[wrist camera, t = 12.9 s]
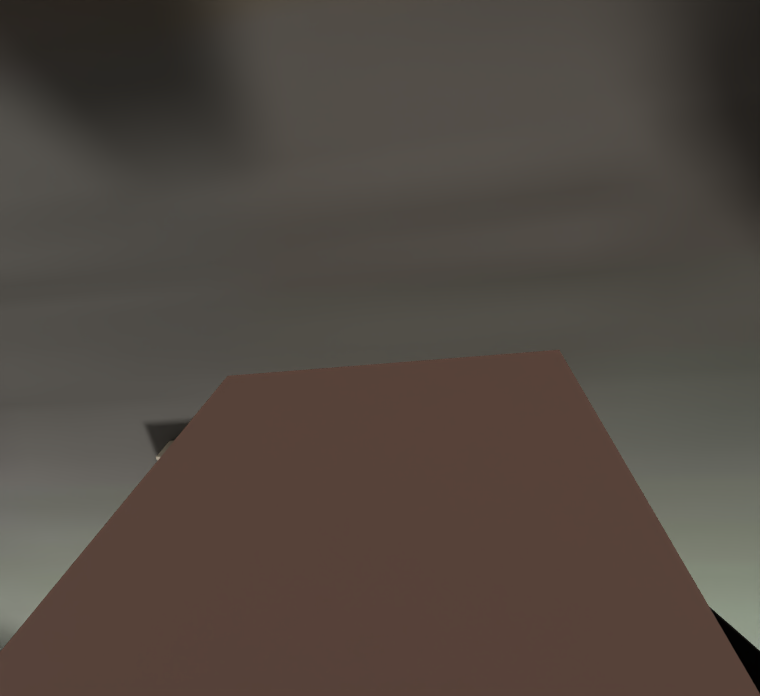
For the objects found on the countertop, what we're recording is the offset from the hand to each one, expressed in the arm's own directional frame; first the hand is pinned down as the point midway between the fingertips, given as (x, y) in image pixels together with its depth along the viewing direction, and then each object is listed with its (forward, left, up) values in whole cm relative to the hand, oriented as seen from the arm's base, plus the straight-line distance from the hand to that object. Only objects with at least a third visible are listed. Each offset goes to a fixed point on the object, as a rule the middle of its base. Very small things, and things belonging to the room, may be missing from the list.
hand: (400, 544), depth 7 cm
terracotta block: (0, 0, -1) cm, 1 cm away
